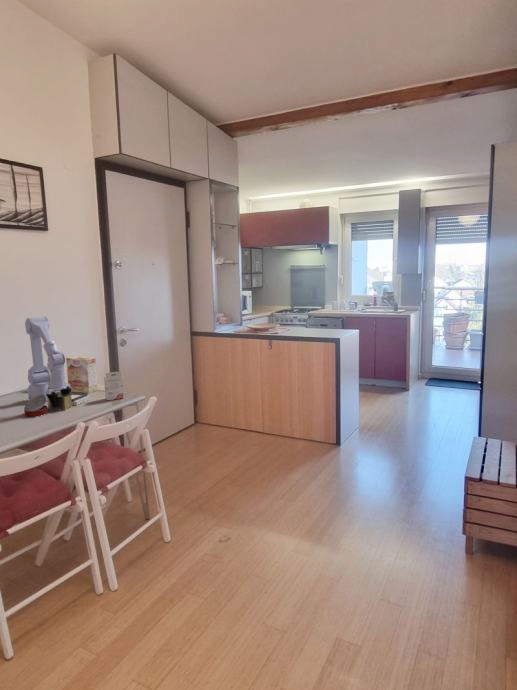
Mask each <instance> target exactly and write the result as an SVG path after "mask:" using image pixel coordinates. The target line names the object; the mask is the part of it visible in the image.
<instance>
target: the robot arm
mask: <svg viewBox="0 0 517 690" xmlns="http://www.w3.org/2000/svg"><path fill="white" fill-rule="evenodd" d="M24 325H25V326H24V327H25V332H26V334H27V335H29V339H30V349H31V357H32V364H33V365H32V366H31V367H30V368H29V369H28V371H27V374H28V375H27V380H28V383H29V385H28V387H27V397H28V400H27V402H29V401H30V400H32V399H33V398H35V397H37V396H39V395H44V396H45V397H46V402H48V401H47V397H48V398H49V400H50V402H51V405H52V407H57V397H58V394H59V393H57V392H60V394H67V395H69V394H70V393H72V392H71V388H70V384H69V383H68V382H67V383H65V382H64V379H65V368H64V369H63V364H64V365H65V363H66V358H65V354H64V353H63V352H62V351H60V349H59V347H58V345H57V343H56V341H53V340H52V337H51V335H50V331H49V329H50V320H49V318H48V317H47V316H41V317H27V318H26V319H25V322H24ZM42 342H43V343H44V344H43V346H42ZM43 349H44V351H45V353H46V355H47V363H48V364H49V368H50V369H51V374H50V371H49V368H48V367H47V365H45V364H44V354H43ZM50 380H52V387H51V388H49V387H48V383H49V381H50Z"/></svg>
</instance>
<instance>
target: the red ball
mask: <svg viewBox="0 0 517 690" xmlns="http://www.w3.org/2000/svg"><path fill="white" fill-rule="evenodd" d="M46 403H47V401H46V397H45V396H44V395H39V396H37V397H35V398H33V399H32V400H30V401H27V403H26V404H25V406H24V416H25V417H26V418H37V417H36V416H38V417H42V416H41V415H43V416H45V415H47V414H48V412H49V411H48V410H49V409H48V405H46ZM44 414H45V415H44Z"/></svg>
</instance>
